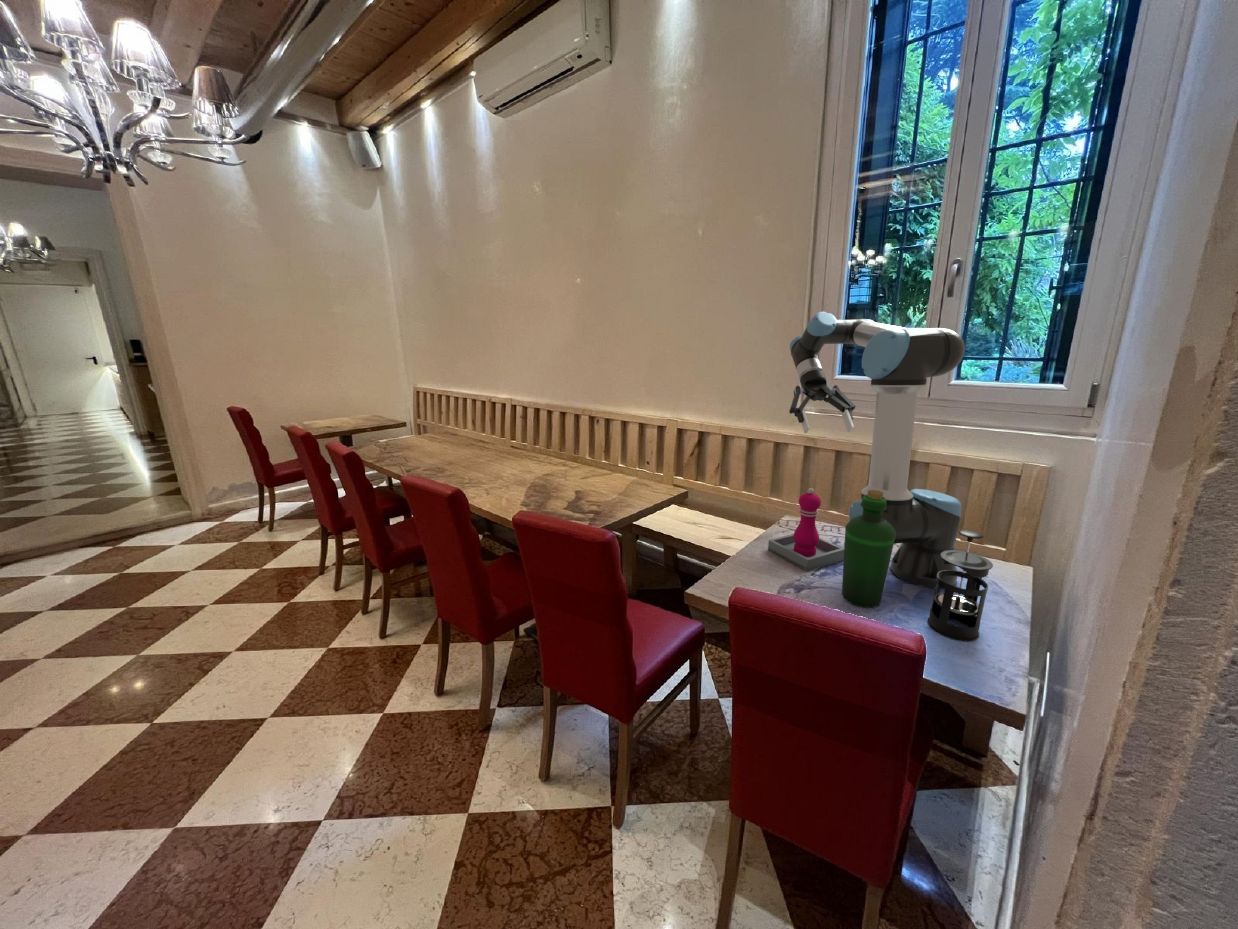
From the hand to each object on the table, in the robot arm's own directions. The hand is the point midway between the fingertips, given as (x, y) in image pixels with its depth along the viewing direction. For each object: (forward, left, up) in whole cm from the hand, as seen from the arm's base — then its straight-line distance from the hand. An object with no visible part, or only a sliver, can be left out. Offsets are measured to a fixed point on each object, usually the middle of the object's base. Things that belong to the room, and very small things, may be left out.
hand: (829, 430), depth 140 cm
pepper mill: (-7, +13, -35) cm, 38 cm away
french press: (-48, +12, -36) cm, 61 cm away
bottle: (-31, +20, -36) cm, 51 cm away
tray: (-7, +13, -36) cm, 39 cm away
